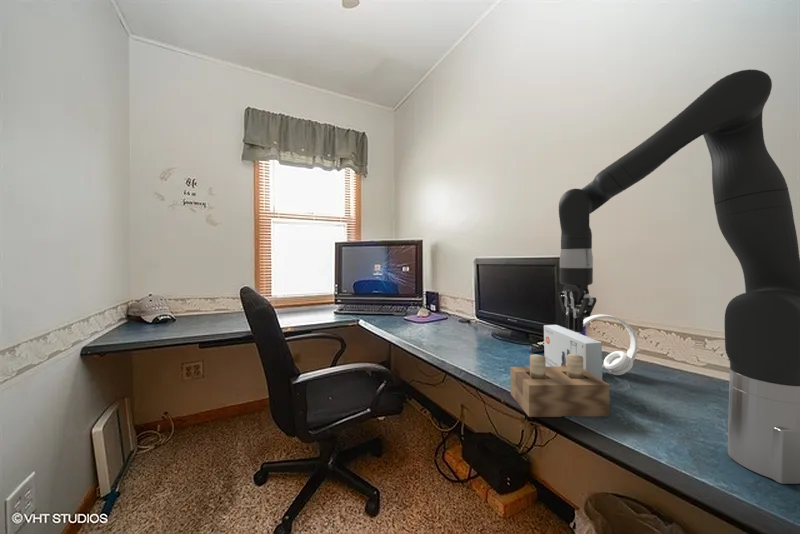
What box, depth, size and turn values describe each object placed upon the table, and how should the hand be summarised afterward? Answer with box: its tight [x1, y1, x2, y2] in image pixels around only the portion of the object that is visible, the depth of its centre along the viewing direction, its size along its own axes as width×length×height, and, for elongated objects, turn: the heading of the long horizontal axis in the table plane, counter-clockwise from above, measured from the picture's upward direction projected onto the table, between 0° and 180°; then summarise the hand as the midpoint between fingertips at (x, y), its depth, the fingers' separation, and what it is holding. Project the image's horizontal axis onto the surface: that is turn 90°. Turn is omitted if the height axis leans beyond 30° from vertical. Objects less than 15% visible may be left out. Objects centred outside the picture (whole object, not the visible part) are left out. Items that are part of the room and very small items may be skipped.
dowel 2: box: [567, 354, 583, 379], centre depth 77 cm, size 4×4×8 cm
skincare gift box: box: [543, 324, 603, 380], centre depth 91 cm, size 21×5×16 cm, turn 4°
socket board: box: [510, 366, 611, 418], centre depth 77 cm, size 20×12×8 cm, turn 90°
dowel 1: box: [529, 354, 546, 379], centre depth 77 cm, size 4×4×8 cm
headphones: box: [576, 313, 639, 376], centre depth 97 cm, size 8×19×20 cm, turn 78°
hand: (575, 330), depth 76 cm, fingers closed
